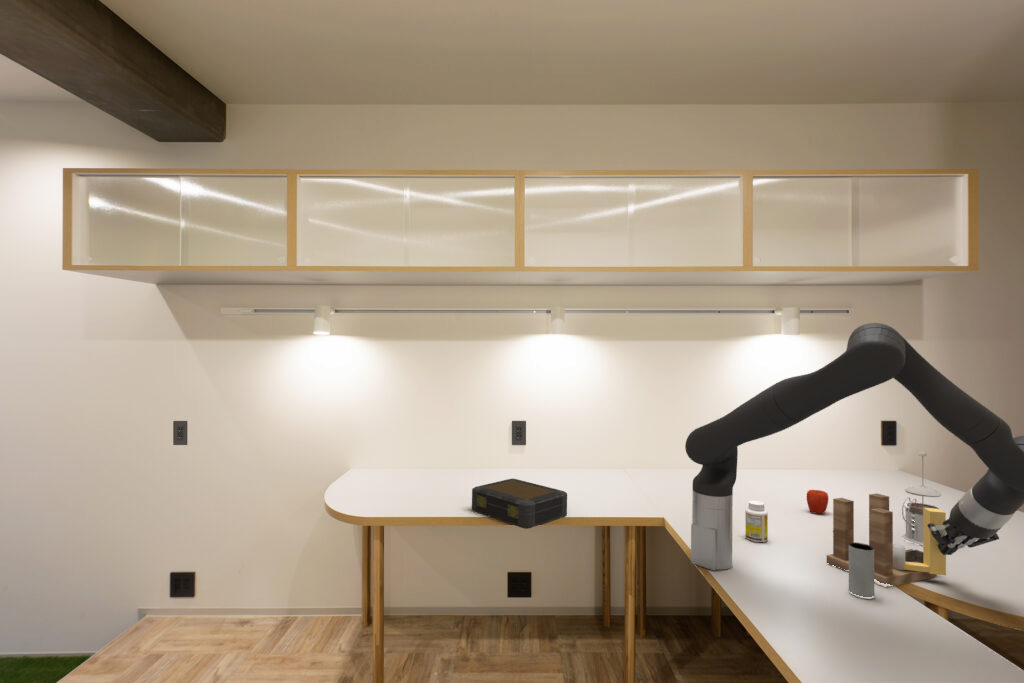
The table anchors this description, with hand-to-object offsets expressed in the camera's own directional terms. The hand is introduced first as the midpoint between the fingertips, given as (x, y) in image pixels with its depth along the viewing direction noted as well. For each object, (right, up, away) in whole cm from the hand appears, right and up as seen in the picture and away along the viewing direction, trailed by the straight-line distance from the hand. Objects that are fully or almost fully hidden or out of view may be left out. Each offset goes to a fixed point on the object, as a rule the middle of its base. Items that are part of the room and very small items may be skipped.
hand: (944, 550), depth 115 cm
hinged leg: (-4, -6, +3) cm, 7 cm away
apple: (+3, -9, +53) cm, 54 cm away
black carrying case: (-95, -8, +48) cm, 107 cm away
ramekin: (+32, -10, +47) cm, 58 cm away
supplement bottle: (-29, -8, +27) cm, 41 cm away
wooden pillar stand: (-8, -8, +8) cm, 14 cm away
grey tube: (-22, -8, -5) cm, 24 cm away
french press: (+17, -9, +28) cm, 34 cm away
